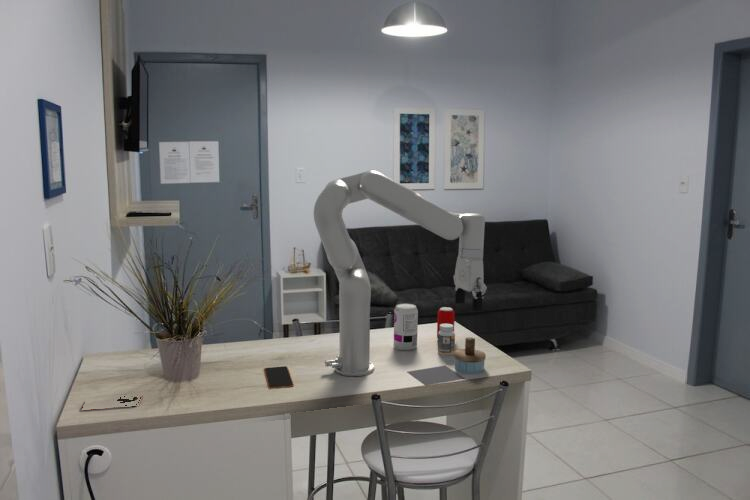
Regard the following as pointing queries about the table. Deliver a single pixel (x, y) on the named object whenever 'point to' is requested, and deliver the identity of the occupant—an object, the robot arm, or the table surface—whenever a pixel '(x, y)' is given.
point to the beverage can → (445, 317)
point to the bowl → (469, 366)
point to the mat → (435, 375)
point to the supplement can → (405, 326)
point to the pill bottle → (446, 339)
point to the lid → (469, 352)
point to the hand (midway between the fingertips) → (468, 306)
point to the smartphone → (278, 377)
